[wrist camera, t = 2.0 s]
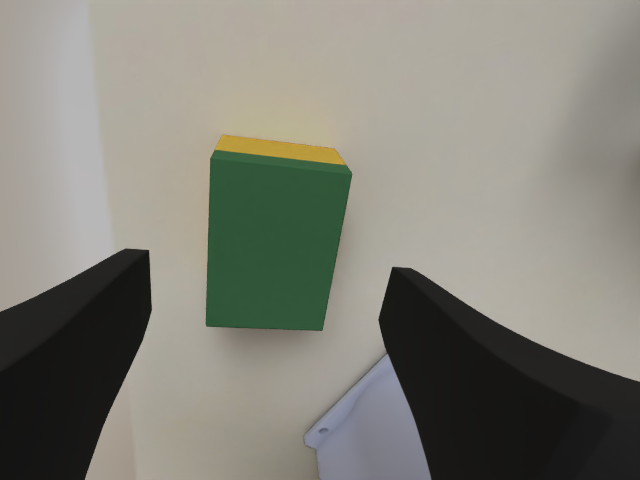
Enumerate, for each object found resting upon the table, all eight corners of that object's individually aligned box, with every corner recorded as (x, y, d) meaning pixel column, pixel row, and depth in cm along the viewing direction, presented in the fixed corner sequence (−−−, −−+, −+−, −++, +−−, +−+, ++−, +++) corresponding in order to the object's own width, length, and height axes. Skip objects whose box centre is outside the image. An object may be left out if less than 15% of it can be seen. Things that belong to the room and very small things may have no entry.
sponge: (216, 278, 17) (205, 327, 14) (221, 134, 15) (210, 156, 12) (313, 283, 18) (322, 331, 15) (335, 148, 16) (353, 172, 12)
